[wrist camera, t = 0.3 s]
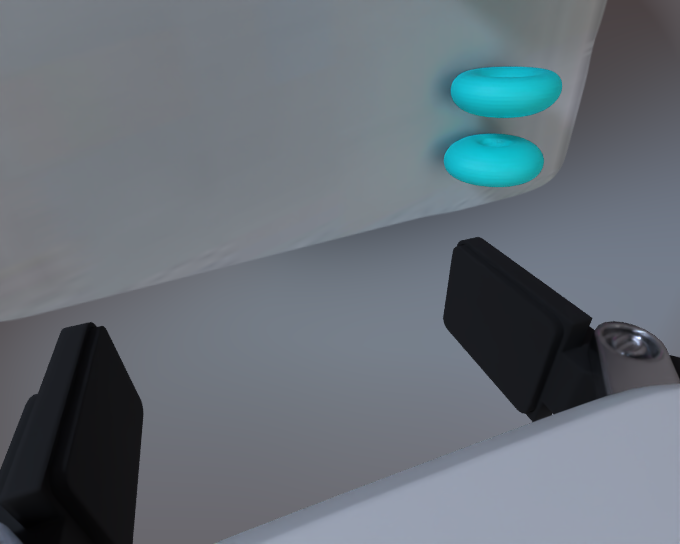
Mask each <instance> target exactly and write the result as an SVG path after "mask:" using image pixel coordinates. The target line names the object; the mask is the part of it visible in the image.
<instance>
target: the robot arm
mask: <svg viewBox="0 0 680 544" xmlns="http://www.w3.org/2000/svg"><path fill="white" fill-rule="evenodd" d="M443 320H444V324H445V326H446V328H447V329H448V330H449V332H450V333H451V334H452V335H453V336H454V337H455V339H456V340H457V341H458V342H459V343H460V344H461V345H462V347H463V348H464V349H465V350H466V351H467V352H468V354H469V355H470V356H471V357H472V358H473V359H474V360H475V362H476V363H477V364H478V365H479V366H480V367H481V369H483V371H484V372H485V373H486V374H487V375H488V376H489V378H490V379H491V380H492V381H493V382H494V383H495V385H496V386H497V387H498V388H499V389H500V390H501V391H502V393H503V394H504V395H505V396H506V397H507V398H508V399H509V401H510V402H511V403H512V404H513V405H514V406H515V408H516V409H517V410H518V411H519V412H521V413H525V414H526V415H527V416H528V417H529V418H530V419H531V420H532V423H529V424H527V425H524V426H521V427H519V428H516V429H514V430H511V431H508V432H505V433H502V434H500V435H497V436H494V437H492V438H489V439H486V440H484V441H481V442H478V443H476V444H473V445H470V446H468V447H465V448H462V449H460V450H457V451H454V452H452V453H449V454H446V455H444V456H441V457H438V458H436V459H433V460H431V461H428V462H425V463H422V464H420V465H417V466H415V467H412V468H409V469H407V470H404V471H402V472H399V473H396V474H393V475H391V476H388V477H386V478H383V479H380V480H378V481H375V482H372V483H370V484H367V485H364V486H362V487H359V488H356V489H354V490H351V491H349V492H346V493H343V494H341V495H338V496H336V497H333V498H330V499H328V500H325V501H323V502H320V503H317V504H315V505H312V506H310V507H307V508H304V509H302V510H299V511H296V512H294V513H291V514H289V515H286V516H284V517H281V518H278V519H276V520H273V521H270V522H268V523H265V524H263V525H260V526H257V527H255V528H252V529H250V530H247V531H244V532H242V533H239V534H237V535H235V536H232V537H229V538H227V539H224V540H221V541H219V542H216V543H214V544H680V358H679V357H675V356H671V355H669V353H668V351H667V349H666V347H665V346H664V344H663V343H662V342H661V341H660V340H659V339H658V338H657V337H656V336H655V335H653V334H651V333H650V332H648V331H646V330H645V329H642V328H640V327H637V326H635V325H632V324H628V323H624V322H615V321H613V322H605V323H602V324H600V325H598V327H597V328H596V329H595V330H594V329H592V328H591V327H590V326H589V325H590V323H591V320H592V318H591V317H590V316H589V315H587V314H586V313H585V312H583V311H582V310H580V309H579V308H578V307H576V306H575V305H574V304H572V303H571V302H569V301H568V300H567V299H565V298H564V297H562V296H561V295H560V294H558V293H557V292H556V291H554V290H553V289H551V288H550V287H549V286H547V285H546V284H544V283H543V282H542V281H540V280H539V279H537V278H536V277H535V276H533V275H532V274H530V273H529V272H528V271H527V270H525V269H524V268H522V267H521V266H520V265H518V264H517V263H515V262H514V261H512V260H511V259H510V258H509V257H507V256H506V255H504V254H503V253H502V252H500V251H499V250H497V249H496V248H494V247H493V246H492V245H491V244H489V243H488V242H486V241H485V240H484V239H482V238H480V237H475V238H471V239H467V240H462V241H460V242H459V243H458V244H457V247H455V248H454V250H453V254H452V260H451V267H450V275H449V282H448V288H447V295H446V302H445V309H444V316H443ZM552 413H553V414H554V415H552ZM142 425H143V406H142V402H141V399H140V397H139V395H138V393H137V391H136V389H135V387H134V385H133V383H132V381H131V379H130V377H129V375H128V373H127V371H126V369H125V367H124V365H123V362H122V360H121V358H120V356H119V354H118V352H117V350H116V348H115V346H114V344H113V342H112V340H111V338H110V336H109V334H108V332H107V330H106V328H105V327H104V326H100V327H96V325H95V324H94V323H92V322H90V323H85V324H80V325H76V326H71V327H67V328H64V329H62V331H61V333H60V335H59V338H58V341H57V344H56V346H55V349H54V352H53V354H52V357H51V360H50V363H49V365H48V368H47V371H46V373H45V376H44V379H43V381H42V384H41V387H40V390H39V392H38V394H35V395H33V396H32V397H30V398H29V400H28V402H27V403H26V405H25V408H24V410H23V413H22V416H21V418H20V421H19V423H18V426H17V428H16V431H15V434H14V436H13V439H12V441H11V444H10V446H9V449H8V451H7V454H6V456H5V459H4V462H3V464H2V467H1V469H0V544H133V532H134V531H133V530H134V520H135V508H136V496H137V484H138V472H139V461H140V449H141V436H142Z"/></svg>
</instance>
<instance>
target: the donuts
mask: <svg viewBox="0 0 680 544" xmlns="http://www.w3.org/2000/svg"><path fill="white" fill-rule="evenodd" d="M561 91H562V81H561V79H560V77H559V76H558V75H557V74H556V73H555V72H553V71H550V70H547V69H541V68H533V67H487V68H478V69H472V70H468V71H465V72H463V73H461V74H460V75H458V76H457V77H456V78H455V80H454V81H453V83H452V86H451V96H452V99H453V101H454V103H455V104H456V105H457V106H458V107H459V108H461V109H462V110H464V111H466V112H468V113H471V114H474V115H478V116H484V117H494V118H514V117H523V116H528V115H533V114H536V113H538V112H541V111H543V110H545V109H547V108H548V107H550V106H551V105H552V104H553V103H554V102H555V101H556V100H557V99H558V97H559V96H560V94H561ZM543 164H544V158H543V154H542V152H541V151H540V149H539V148H538V147H537V146H536V145H535V144H533V143H532V142H530V141H528V140H526V139H524V138H521V137H517V136H513V135H507V134H492V133H490V134H477V135H472V136H468V137H465V138H462V139H460V140H458V141H456V142H455V143H453V144H452V145H451V146H450V147H449V148H448V150H447V151H446V153H445V156H444V166H445V168H446V170H447V171H448V173H449V174H450V175H452V176H453V177H454V178H456V179H458V180H460V181H463V182H466V183H469V184H473V185H478V186H486V187H509V186H515V185H520V184H523V183H526V182H528V181H530V180H532V179H534V178H535V177H536V176H537V175H538V174H539V173H540V172H541V170H542V168H543Z"/></svg>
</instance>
